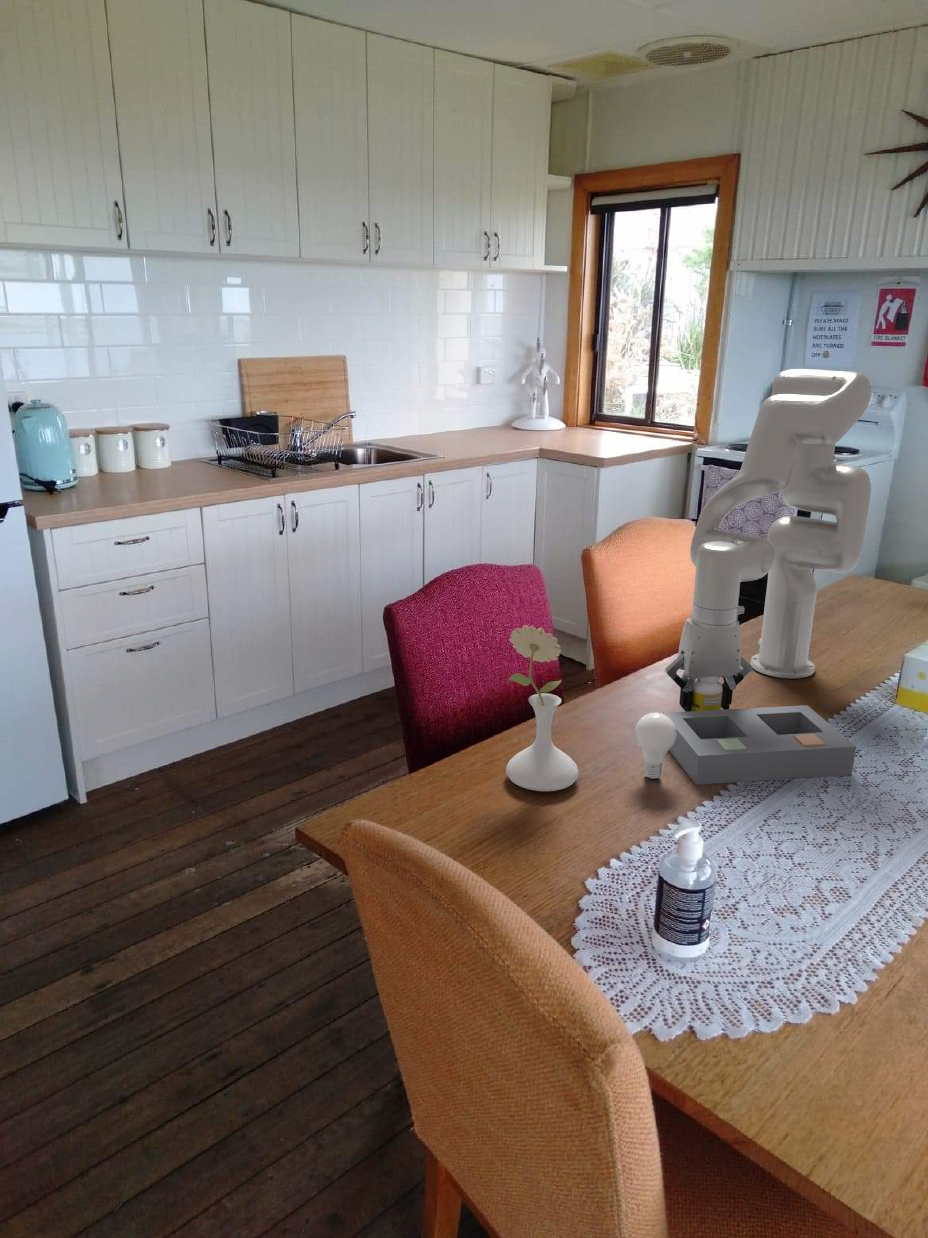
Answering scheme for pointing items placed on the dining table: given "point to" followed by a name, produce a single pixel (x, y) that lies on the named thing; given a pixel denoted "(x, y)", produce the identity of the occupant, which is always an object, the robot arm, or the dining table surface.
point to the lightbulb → (655, 741)
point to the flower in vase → (540, 721)
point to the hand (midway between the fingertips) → (704, 708)
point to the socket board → (759, 745)
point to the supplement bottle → (706, 694)
